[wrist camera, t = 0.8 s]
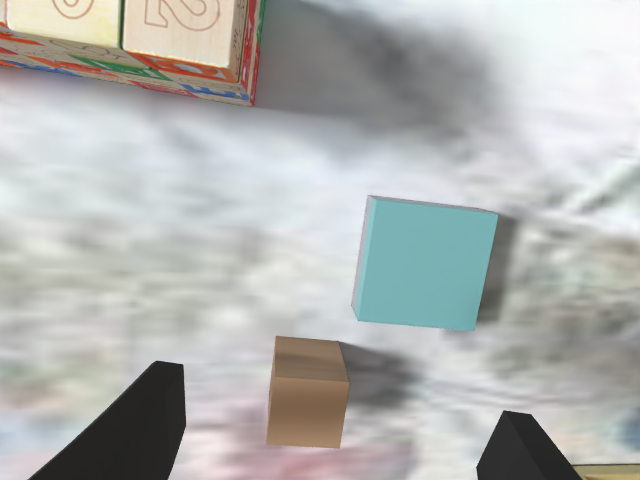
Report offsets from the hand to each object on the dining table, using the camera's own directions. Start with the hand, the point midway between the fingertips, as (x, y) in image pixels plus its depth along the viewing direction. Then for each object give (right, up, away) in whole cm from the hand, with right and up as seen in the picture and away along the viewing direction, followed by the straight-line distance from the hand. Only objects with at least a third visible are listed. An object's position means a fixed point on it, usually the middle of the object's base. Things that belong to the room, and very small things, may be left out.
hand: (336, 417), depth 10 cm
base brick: (+5, +3, +17) cm, 18 cm away
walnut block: (-1, -4, +18) cm, 19 cm away
